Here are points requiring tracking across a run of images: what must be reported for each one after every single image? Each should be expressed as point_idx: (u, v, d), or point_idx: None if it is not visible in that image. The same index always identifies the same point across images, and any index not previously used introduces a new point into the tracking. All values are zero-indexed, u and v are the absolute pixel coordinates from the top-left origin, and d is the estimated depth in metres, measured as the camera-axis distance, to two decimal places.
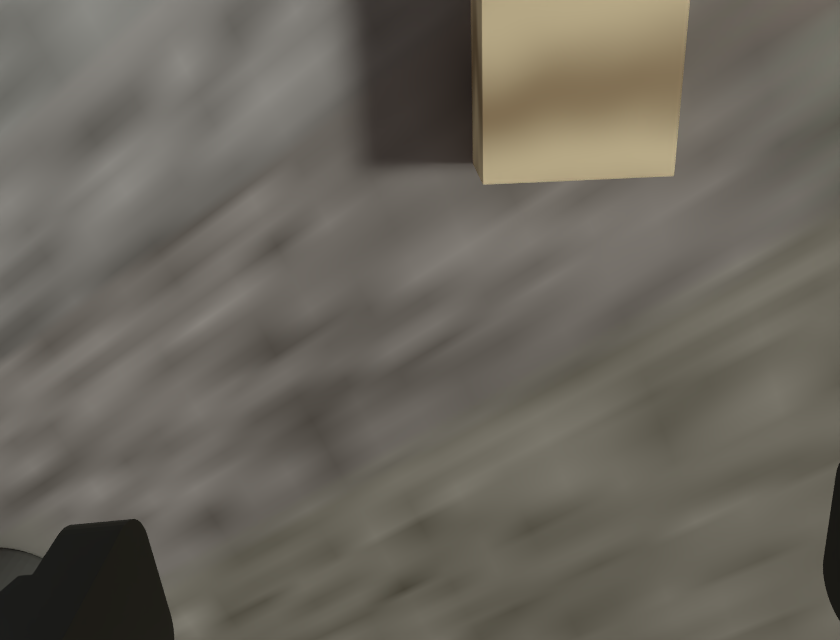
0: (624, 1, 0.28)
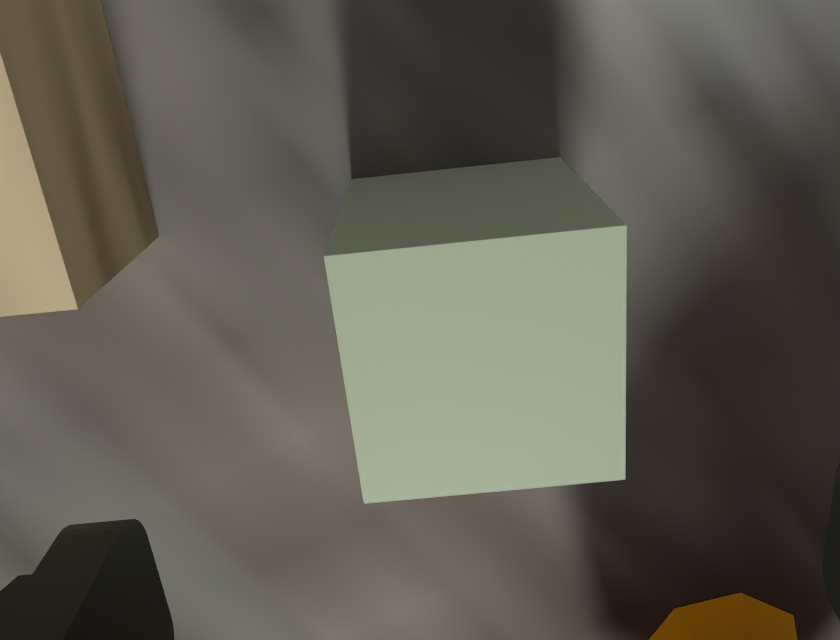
0: None
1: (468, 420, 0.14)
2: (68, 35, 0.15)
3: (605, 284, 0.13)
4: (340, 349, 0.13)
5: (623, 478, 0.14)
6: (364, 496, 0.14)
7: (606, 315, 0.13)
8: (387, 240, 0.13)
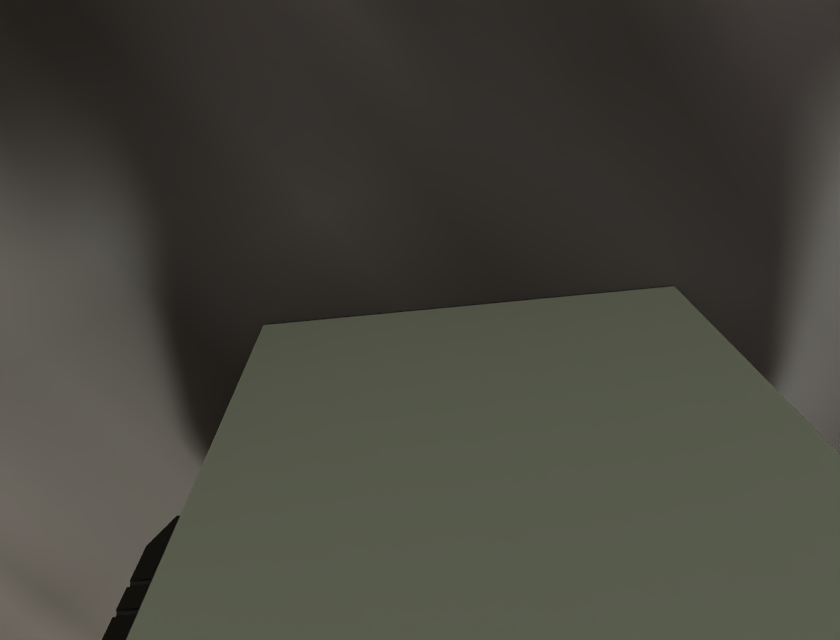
0: None
1: None
2: None
3: None
4: None
5: None
6: None
7: None
8: None
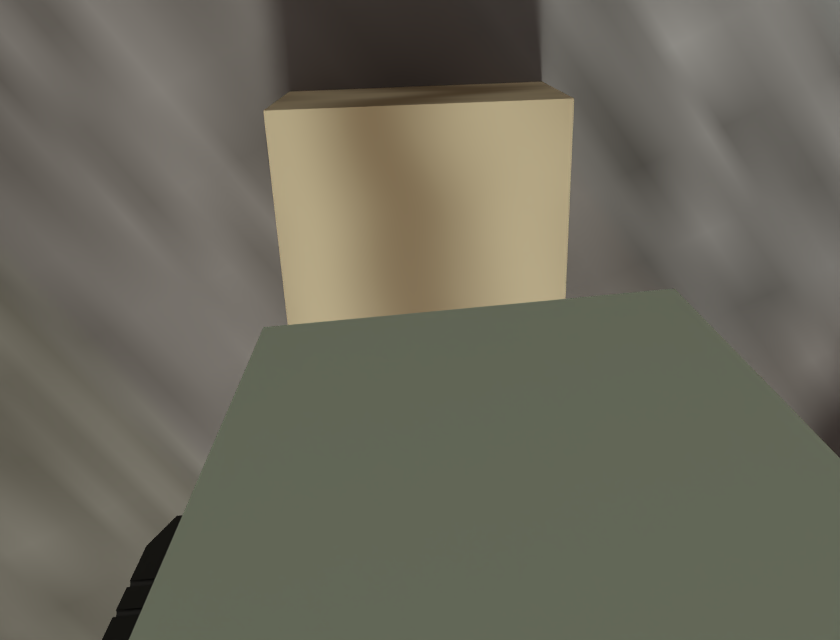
0: (524, 298, 0.21)
1: None
2: None
3: None
4: None
5: None
6: None
7: None
8: None
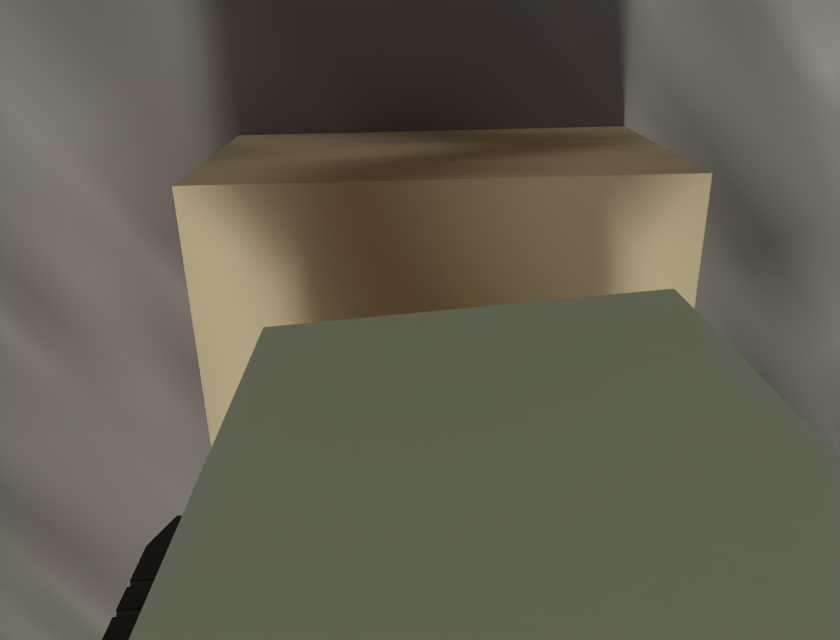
0: None
1: None
2: None
3: None
4: None
5: None
6: None
7: None
8: None
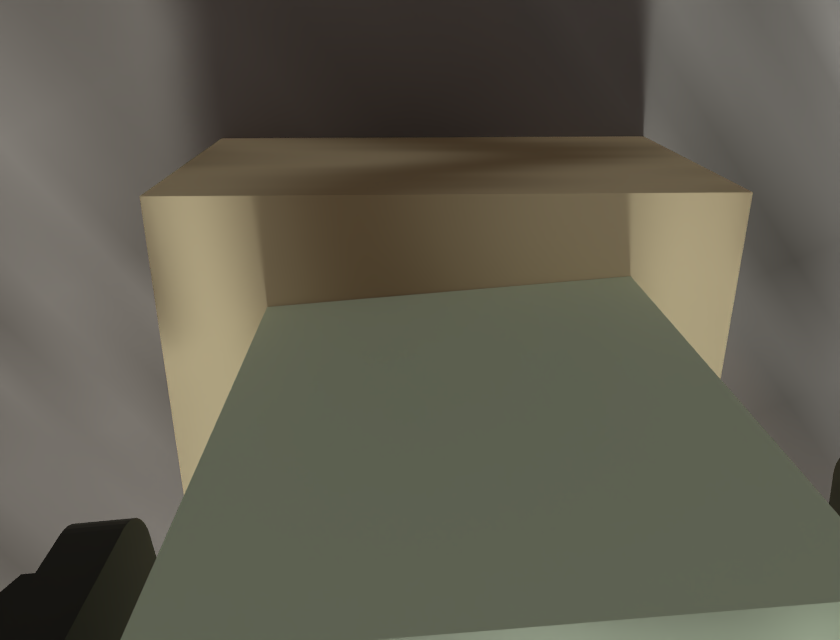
0: None
1: None
2: None
3: None
4: None
5: None
6: None
7: None
8: (288, 589, 0.05)
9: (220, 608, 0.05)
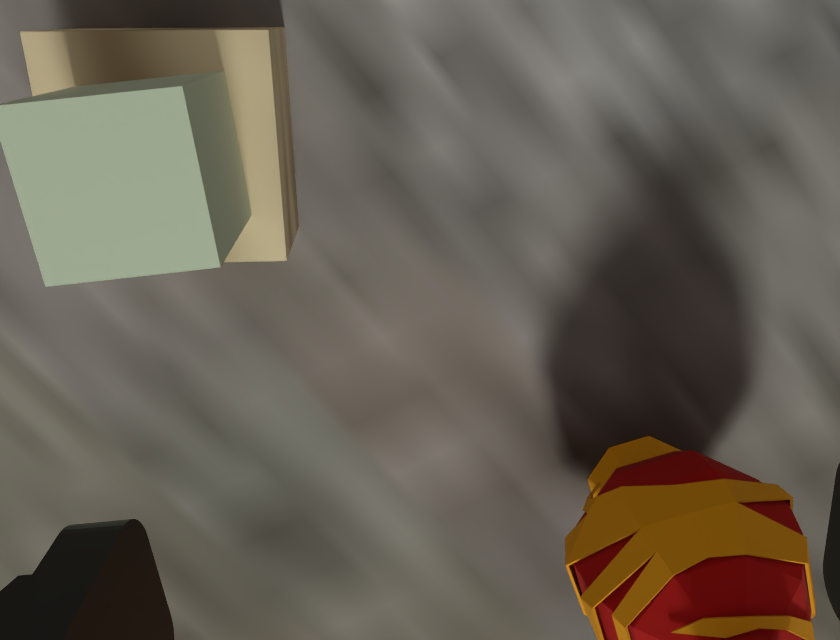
0: (248, 194, 0.27)
1: (106, 223, 0.21)
2: (285, 120, 0.28)
3: (177, 126, 0.20)
4: (10, 171, 0.20)
5: (218, 266, 0.21)
6: (45, 281, 0.21)
7: (182, 147, 0.20)
8: (38, 100, 0.20)
9: (19, 102, 0.20)
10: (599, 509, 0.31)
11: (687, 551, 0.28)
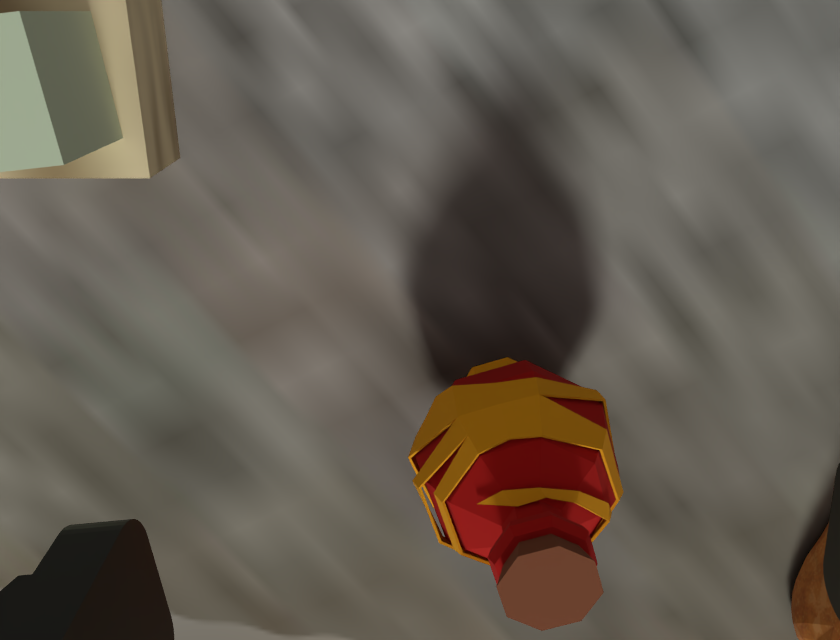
0: None
1: None
2: (154, 59, 0.33)
3: (17, 45, 0.24)
4: None
5: (62, 164, 0.26)
6: None
7: (23, 63, 0.25)
8: None
9: None
10: (435, 407, 0.35)
11: (492, 434, 0.32)
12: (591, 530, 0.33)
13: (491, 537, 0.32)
